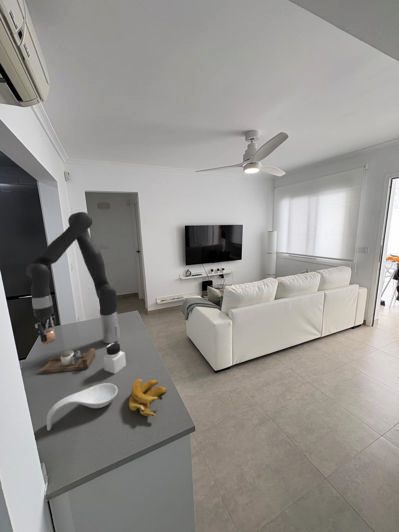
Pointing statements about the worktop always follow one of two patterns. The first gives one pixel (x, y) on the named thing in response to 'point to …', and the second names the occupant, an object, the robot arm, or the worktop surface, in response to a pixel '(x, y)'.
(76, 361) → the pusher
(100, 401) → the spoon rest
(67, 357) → the cream jar
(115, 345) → the medicine bottle
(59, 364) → the lane
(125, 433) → the worktop surface
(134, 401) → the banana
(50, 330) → the terracotta jar
